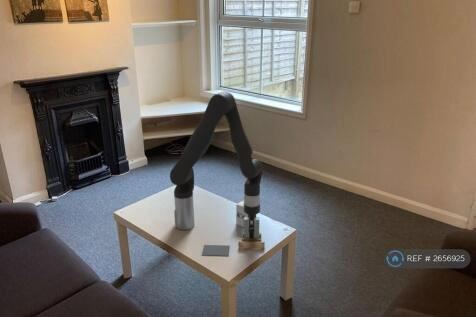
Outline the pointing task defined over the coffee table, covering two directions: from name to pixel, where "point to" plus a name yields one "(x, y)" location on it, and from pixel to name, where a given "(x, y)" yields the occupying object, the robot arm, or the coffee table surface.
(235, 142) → the robot arm
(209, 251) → the rubber mat
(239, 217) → the ink box
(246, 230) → the grey-green rectangular block
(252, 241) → the walnut slot block
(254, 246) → the wooden bar
